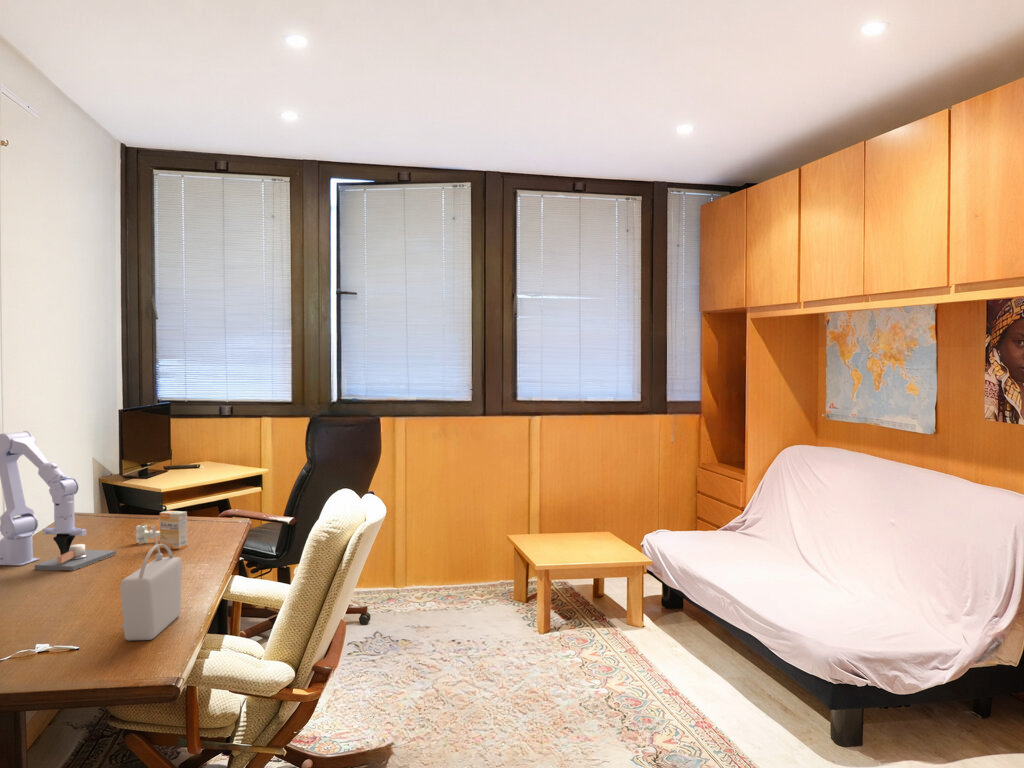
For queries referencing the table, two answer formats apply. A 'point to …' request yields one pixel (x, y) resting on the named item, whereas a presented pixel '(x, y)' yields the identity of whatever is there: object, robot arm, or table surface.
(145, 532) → the valve
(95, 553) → the base plate
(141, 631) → the grey handbag
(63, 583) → the table surface
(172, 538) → the supplement box
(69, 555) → the handle
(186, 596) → the table surface
